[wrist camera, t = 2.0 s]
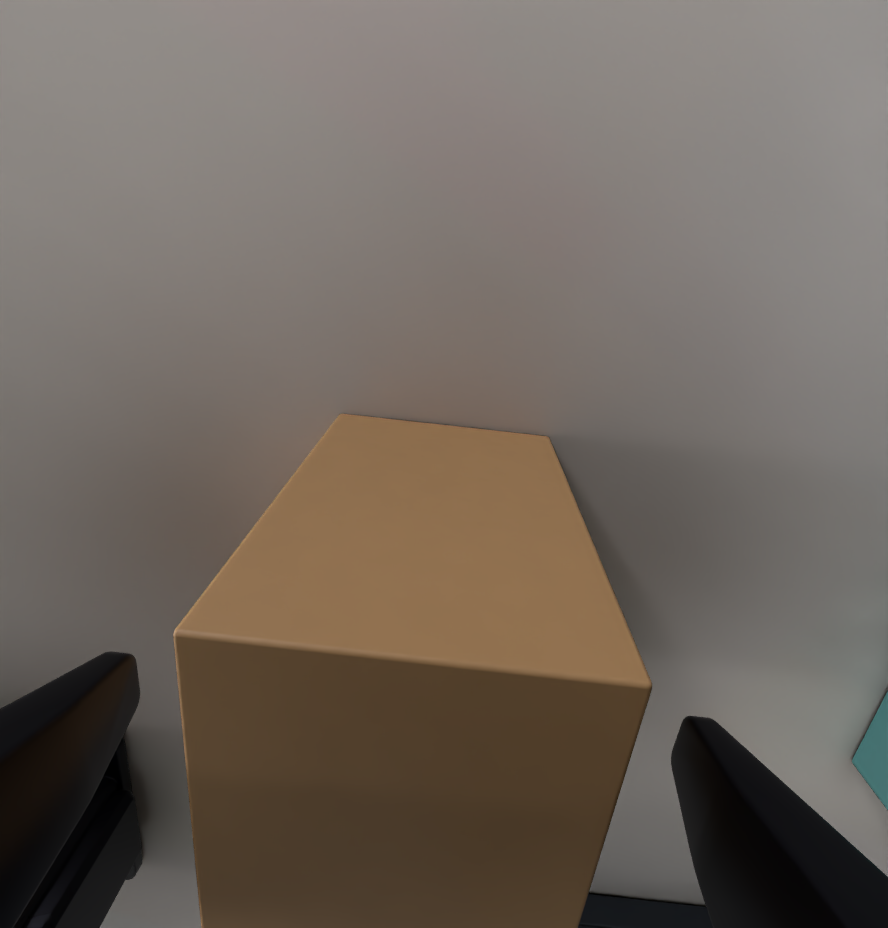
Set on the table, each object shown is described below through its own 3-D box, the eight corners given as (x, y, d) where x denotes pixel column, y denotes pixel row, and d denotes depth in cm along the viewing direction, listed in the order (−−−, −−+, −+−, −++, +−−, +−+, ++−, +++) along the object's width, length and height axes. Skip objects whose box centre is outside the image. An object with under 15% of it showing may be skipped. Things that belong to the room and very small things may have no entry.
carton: (332, 620, 15) (203, 974, 8) (339, 412, 13) (169, 632, 6) (512, 640, 15) (552, 1013, 8) (549, 435, 13) (656, 684, 6)
